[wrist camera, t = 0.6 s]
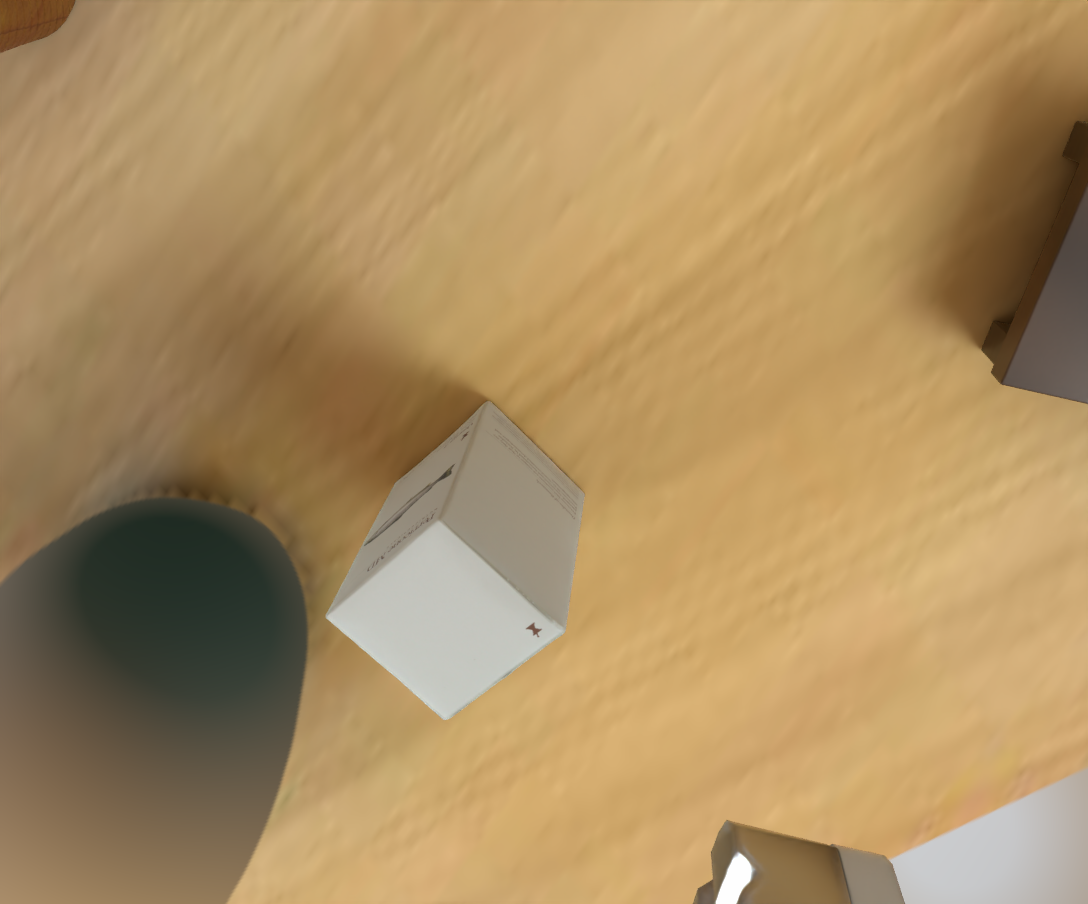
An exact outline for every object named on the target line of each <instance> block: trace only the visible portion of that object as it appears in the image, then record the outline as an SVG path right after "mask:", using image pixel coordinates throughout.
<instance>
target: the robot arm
mask: <svg viewBox="0 0 1088 904" xmlns="http://www.w3.org/2000/svg"><path fill="white" fill-rule="evenodd" d="M711 859H712V872H713V880H711V881H710V882H708V883H706V884H705V885H703V886H702V887H700V888H698V890H697V893H696V896H695V899H694V902H693V904H905V902H904V899H903V896H902V893H901V890H900V887H899V884H898V881H897V877H896V874H895V871H894V868H893V865H892V863H891V862H890V861H889V860H888V859H887V858H886V857H885V856H884V855H880V854H876V853H871V852H866V851H862V850H857V849H853V848H848V847H844V846H839V845H835V844H831V845H827V844H823V843H819V842H815V841H811V840H807V839H803V838H798V837H794V836H790V835H786V834H782V833H778V832H774V831H769V830H765V829H761V828H757V827H753V826H749V825H745V824H740V823H736V822H732V821H728V820H726V822H725V823H724V825H723V826H722V828H721V829H720V831H719V833H718V836H717V838H716V841H715V843H714V846H713V849H712V851H711Z"/></svg>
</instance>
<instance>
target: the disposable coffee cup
mask: <svg viewBox="0 0 1088 904" xmlns="http://www.w3.org/2000/svg"><path fill="white" fill-rule="evenodd" d="M74 2H75V0H0V53H1V52H4V51H6V50H9V49H12V48H15V47H18V46H21V45H24V44H26V43H29V42H32V41H35V40H39V39H42V38H44V37H47V36H49V35H50V34H52V33H53V32H55V31H57V30H58V28H59V27H60V26H61V25H62V24H63V23H64V22H65V21H66V19H67V17H68V16H69V14H70V12H71V10H72V8H73V6H74Z"/></svg>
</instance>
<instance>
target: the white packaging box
mask: <svg viewBox="0 0 1088 904" xmlns="http://www.w3.org/2000/svg"><path fill="white" fill-rule="evenodd" d="M584 497H585V494H584V492H583V491H582V490H581V489H580V488H579V487H578V486H577V485H576V484H575V483H574V482H573V481H572V480H571V479H570V478H569V477H568V476H567V475H565V473H564V472H563V471H561V470H560V469H559V468H558V467H557V466H556V465H555V464H554V463H553V462H552V461H551V460H550V459H549V458H548V457H547V456H546V455H545V454H544V453H543V452H542V451H541V450H540V449H539V448H538V447H537V446H536V445H535V444H534V443H533V442H532V441H531V440H530V439H529V438H528V437H527V436H526V435H525V434H524V433H523V432H522V431H521V430H520V429H519V428H518V427H517V426H516V425H515V424H514V423H513V422H511V421H510V420H509V419H508V418H507V417H506V416H505V414H503V413H502V412H501V411H500V410H499V409H498V408H497V407H496V406H495V405H494V404H493V403H492V402H490V401H486V402H485V403H484V404H483V405H482V406H481V407H480V408H479V409H478V410H477V411H476V412H475V413H474V414H473V415H472V416H471V417H470V418H469V419H468V420H467V421H466V422H465V423H463V424H462V425H461V426H460V427H459V428H458V429H457V430H456V431H455V432H454V433H453V434H452V435H451V436H449V437H448V438H447V439H446V440H445V441H444V442H443V443H442V444H440V445H439V446H438V447H437V448H436V449H435V450H434V451H432V452H431V453H430V454H429V455H428V456H427V457H426V458H424V459H423V460H422V461H421V462H420V463H419V464H417V465H416V466H415V467H414V468H413V469H412V470H410V471H409V472H408V473H407V474H405V475H404V476H403V477H402V478H400V479H399V480H398V481H397V482H396V483H395V484H394V486H393V488H392V490H391V492H390V494H389V496H388V497H387V499H386V501H385V503H384V505H383V507H382V508H381V510H380V512H379V514H378V516H377V518H376V520H375V522H374V523H373V525H372V527H371V529H370V531H369V533H368V535H367V537H366V539H365V541H364V543H363V544H362V546H361V548H360V550H359V552H358V554H357V556H356V558H355V560H354V562H353V564H352V566H351V568H350V570H349V572H348V574H347V576H346V578H345V580H344V581H343V583H342V585H341V587H340V589H339V591H338V593H337V595H336V597H335V599H334V601H333V603H332V605H331V606H330V608H329V610H328V612H327V614H326V618H327V619H328V620H329V621H330V622H332V623H333V624H334V625H335V626H336V627H337V628H338V629H340V630H341V631H342V632H343V633H344V634H345V635H347V636H348V637H349V638H350V639H351V640H352V641H354V642H355V643H356V644H357V645H358V646H360V647H361V648H362V649H363V650H364V651H365V652H367V653H368V654H369V655H370V656H371V657H372V658H374V659H375V660H376V661H377V662H378V663H379V664H381V665H382V666H383V667H384V668H385V669H386V670H388V671H389V672H390V673H391V674H393V675H394V676H395V677H396V678H397V679H399V680H400V681H401V682H402V683H403V684H404V685H405V686H406V687H407V688H409V689H410V690H411V691H412V692H413V693H414V694H415V695H416V696H417V697H418V698H420V699H421V700H422V701H423V702H424V703H425V704H426V705H427V706H429V707H430V708H431V709H432V710H433V711H434V712H435V713H436V714H438V715H439V716H440V717H441V718H442V719H444V720H447V719H450V718H451V717H453V716H454V715H455V714H457V713H458V712H459V711H461V710H462V709H463V708H465V707H466V706H467V705H468V704H470V703H471V702H472V701H474V700H475V699H476V698H478V697H479V696H480V695H482V694H483V693H484V692H486V691H487V690H488V689H490V688H491V687H492V686H494V685H495V684H496V683H498V682H499V681H501V680H502V679H504V678H505V677H507V676H508V675H509V674H511V673H512V672H513V671H514V670H515V669H516V668H518V667H519V666H520V665H522V664H523V663H524V662H526V661H527V660H528V659H530V658H531V657H532V656H534V655H535V654H536V653H538V652H539V651H540V650H542V649H543V648H544V647H546V646H547V645H548V644H550V643H551V642H552V641H554V640H555V639H556V638H558V637H560V636H561V635H562V634H563V633H565V630H566V623H567V616H568V609H569V602H570V595H571V588H572V581H573V574H574V567H575V560H576V553H577V546H578V538H579V531H580V524H581V517H582V510H583V503H584Z"/></svg>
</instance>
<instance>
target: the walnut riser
mask: <svg viewBox="0 0 1088 904" xmlns="http://www.w3.org/2000/svg"><path fill="white" fill-rule="evenodd" d="M1062 156H1063V157H1065V158H1068V159H1070V160H1073V161H1075V162H1077V163H1079V166H1078V168H1077V170H1076V173H1075V175H1074V177H1073V180H1072V182H1071V184H1070V187H1069V189H1068V191H1067V194H1066V196H1065V199H1064V201H1063V203H1062V206H1061V208H1060V210H1059V213H1058V215H1057V217H1056V220H1055V222H1054V224H1053V227H1052V229H1051V231H1050V234H1049V236H1048V239H1047V241H1046V243H1045V246H1044V248H1043V250H1042V253H1041V255H1040V257H1039V260H1038V262H1037V264H1036V267H1035V269H1034V272H1033V274H1032V276H1031V279H1030V281H1029V283H1028V286H1027V288H1026V290H1025V293H1024V295H1023V297H1022V300H1021V302H1020V305H1019V307H1018V309H1017V312H1016V314H1015V316H1014V319H1013V321H1012V323H1011V324H1006V323H1002V322H997V321H993V323H992V326H991V328H990V330H989V333H988V335H987V338H986V340H985V342H984V345H983V347H982V351H983V353H984V354H985V355H986V356H987V357H988V358H989V359H990V360H991V361H992V362H993V364H994V366H993V368H992V371H991V373H992V375H993V376H994V377H995V378H996V379H997V380H998V381H999V383H1000V384H1002V385H1006V386H1011V387H1015V388H1019V389H1024V390H1028V391H1033V392H1037V393H1042V394H1046V395H1051V396H1055V397H1060V398H1064V399H1069V400H1073V401H1077V402H1082V403H1086V404H1088V123H1086V122H1081V121H1077V122H1076V124H1075V126H1074V128H1073V131H1072V133H1071V136H1070V138H1069V140H1068V143H1067V145H1066V148H1065V150H1064V152H1063V155H1062Z"/></svg>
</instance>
